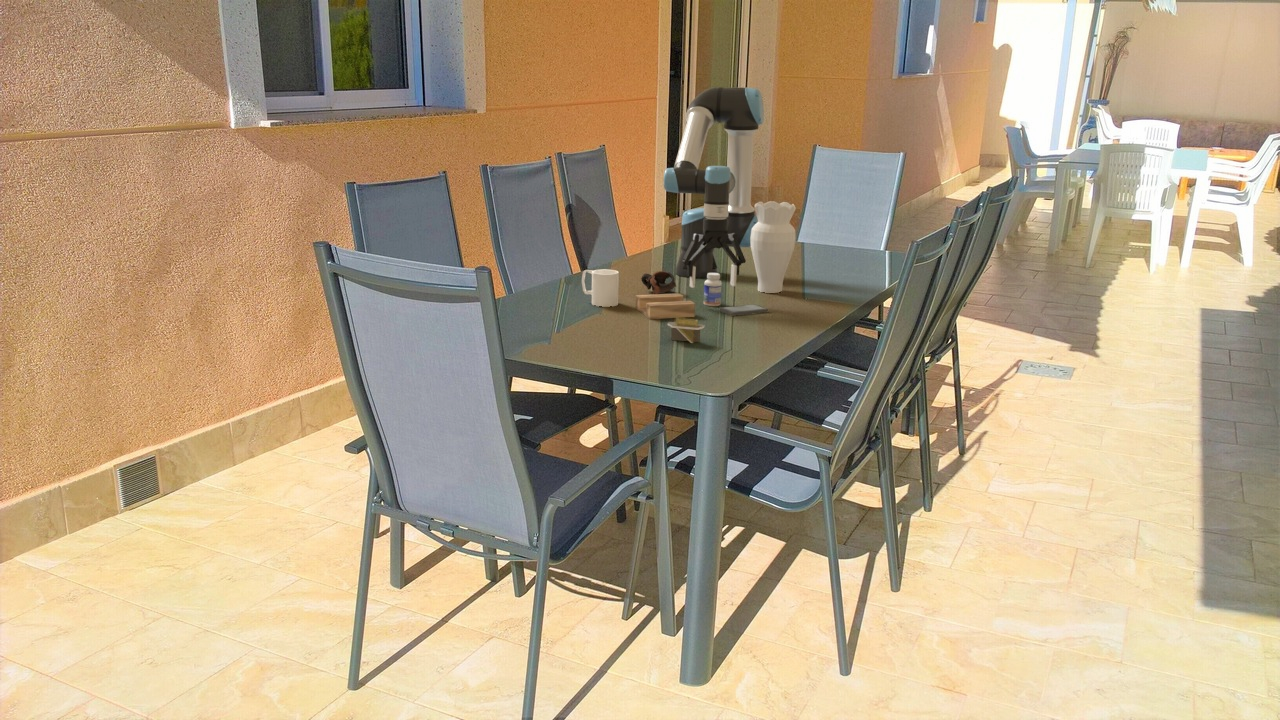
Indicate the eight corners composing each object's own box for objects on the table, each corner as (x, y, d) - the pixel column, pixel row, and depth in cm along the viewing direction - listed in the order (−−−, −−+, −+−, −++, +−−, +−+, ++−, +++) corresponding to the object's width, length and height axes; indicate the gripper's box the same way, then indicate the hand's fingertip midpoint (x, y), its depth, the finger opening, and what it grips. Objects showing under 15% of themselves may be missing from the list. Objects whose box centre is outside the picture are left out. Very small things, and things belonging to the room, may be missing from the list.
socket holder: (635, 308, 308) (635, 295, 307) (678, 306, 312) (679, 293, 311) (649, 319, 295) (650, 305, 294) (694, 316, 299) (695, 303, 298)
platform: (713, 351, 264) (714, 327, 262) (646, 345, 269) (647, 321, 267) (721, 340, 275) (722, 317, 274) (657, 335, 280) (658, 311, 278)
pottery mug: (677, 292, 334) (681, 273, 328) (667, 309, 327) (670, 291, 321) (644, 280, 336) (647, 261, 330) (633, 297, 330) (636, 278, 324)
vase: (742, 293, 331) (747, 204, 323) (753, 285, 345) (758, 199, 336) (786, 297, 327) (792, 207, 318) (796, 289, 340) (802, 202, 332)
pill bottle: (702, 302, 318) (703, 271, 315) (719, 302, 318) (721, 272, 315) (704, 306, 312) (705, 275, 310) (721, 306, 313) (723, 275, 310)
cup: (586, 298, 319) (587, 267, 316) (622, 302, 315) (622, 270, 312) (576, 303, 312) (576, 271, 309) (611, 308, 308) (612, 275, 305)
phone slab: (719, 310, 307) (719, 307, 307) (755, 307, 313) (755, 303, 312) (731, 316, 301) (732, 312, 301) (768, 312, 307) (768, 308, 306)
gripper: (681, 219, 300) (678, 290, 306) (758, 218, 308) (754, 287, 313) (673, 216, 307) (670, 285, 313) (748, 215, 315) (745, 282, 320)
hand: (712, 286), depth 313 cm, fingers open, 13 cm apart
